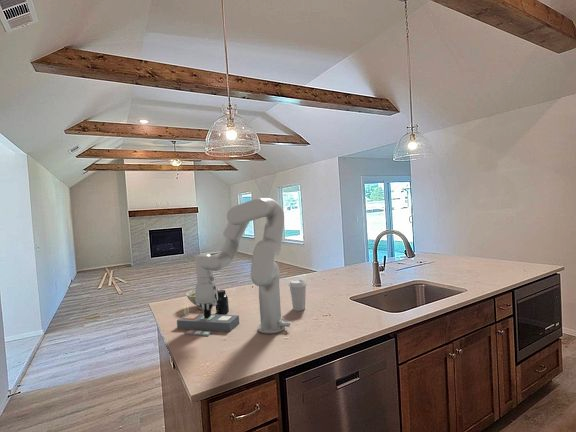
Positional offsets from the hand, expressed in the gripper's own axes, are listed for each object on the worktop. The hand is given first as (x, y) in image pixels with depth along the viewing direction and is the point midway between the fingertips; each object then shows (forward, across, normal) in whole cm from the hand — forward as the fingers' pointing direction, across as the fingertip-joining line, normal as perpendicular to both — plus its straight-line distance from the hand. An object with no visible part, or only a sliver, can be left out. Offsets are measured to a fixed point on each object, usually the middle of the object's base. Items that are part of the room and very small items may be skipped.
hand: (207, 317), depth 155 cm
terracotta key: (+3, +9, 0) cm, 9 cm away
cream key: (+3, -9, 0) cm, 10 cm away
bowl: (+5, +18, -26) cm, 32 cm away
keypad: (+4, 0, 0) cm, 4 cm away
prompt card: (+4, 0, +9) cm, 10 cm away
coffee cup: (+4, -38, -29) cm, 48 cm away
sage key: (+3, 0, 0) cm, 3 cm away
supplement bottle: (+5, +2, -18) cm, 19 cm away
